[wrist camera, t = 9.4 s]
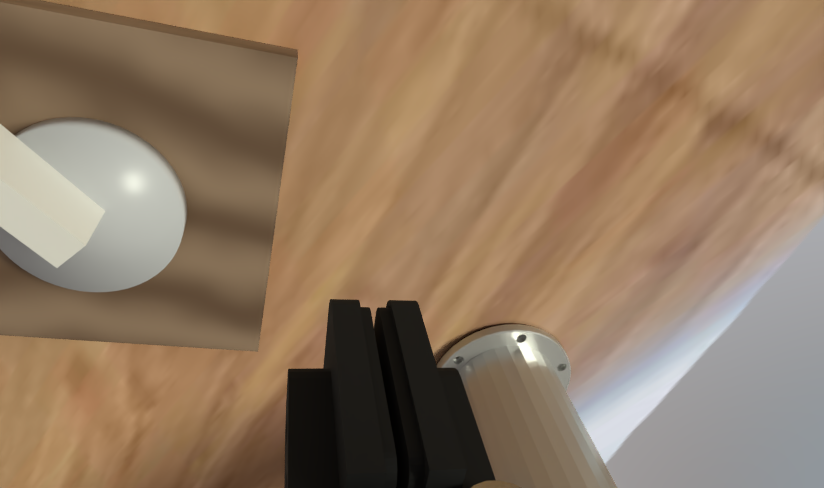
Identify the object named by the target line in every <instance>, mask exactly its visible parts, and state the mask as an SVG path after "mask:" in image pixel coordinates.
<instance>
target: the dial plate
mask: <svg viewBox="0 0 824 488" xmlns="http://www.w3.org/2000/svg"><path fill="white" fill-rule="evenodd" d="M297 59H298V52H297V50H296V49H291V48H286V47H281V46H275V45H270V44H265V43H260V42H254V41H249V40H244V39H239V38H234V37H228V36H223V35H218V34H213V33H207V32H202V31H197V30H192V29H187V28H181V27H176V26H171V25H166V24H161V23H155V22H150V21H145V20H140V19H134V18H129V17H124V16H119V15H114V14H108V13H103V12H98V11H93V10H87V9H82V8H77V7H72V6H67V5H61V4H56V3H51V2H46V1H40V0H0V124H1V125H2V126H4V127H5V128H6V129H7V130H8V131H10V132H11V133H12V134H13V135H16V134H17V133H19V132H20V131H21V130H23V129H25V128H27V127H29V126H31V125H33V124H36V123H39V122H42V121H45V120H50V119H55V118H65V117H81V118H90V119H96V120H101V121H104V122H108V123H112V124H114V125H117V126H119V127H122V128H124V129H127V130H128V131H130V132H132V133H134V134H136V135H138V136H139V137H141V138H142V139H144V140H145V141H147V142H148V143H150V144H151V145H152V146H153V147H154V148H155V149H157V150H158V151H159V152H160V153H161V154H162V155H163V156H164V157H165V158H166V160H167V161H168V162H169V163H170V165H171V166H172V167H173V169H174V170H175V172H176V174H177V176H178V177H179V179H180V181H181V184H182V186H183V189H184V192H185V197H186V201H187V221H186V225H185V230H184V233H183V236H182V239H181V243H180V245H179V247H178V250H177V252H176V254H175V255H174V257H173V258H172V260H171V261H170V262H169V264H168V265H167V266H166V267H165V268H164V269H163V270H162V271H161V272H159V273H158V274H157V275H156V276H154V277H152V278H151V279H149V280H148V281H146V282H144V283H141V284H139V285H137V286H134V287H131V288H128V289H123V290H119V291H111V292H85V291H77V290H72V289H67V288H63V287H60V286H57V285H54V284H51V283H49V282H46V281H44V280H41V279H39V278H38V277H36V276H34V275H32V274H30V273H28V272H27V271H25V270H24V269H22V268H21V267H19V266H18V265H17V264H16V263H14V262H13V261H12V260H11V259H10V258H9V257H8V256H6V255H5V254H4V253H3V252H2V251H1V249H0V335H8V336H24V337H39V338H55V339H70V340H86V341H101V342H117V343H132V344H148V345H164V346H179V347H195V348H210V349H226V350H241V351H257V352H258V347H259V340H260V332H261V325H262V318H263V310H264V303H265V295H266V288H267V281H268V273H269V266H270V258H271V251H272V244H273V236H274V229H275V222H276V214H277V207H278V199H279V192H280V185H281V177H282V170H283V162H284V155H285V148H286V140H287V133H288V126H289V118H290V111H291V103H292V96H293V89H294V81H295V74H296V67H297Z"/></svg>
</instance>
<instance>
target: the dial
mask: <svg viewBox="0 0 824 488" xmlns="http://www.w3.org/2000/svg"><path fill="white" fill-rule="evenodd" d="M186 221H187V201H186V197H185V192H184V189H183V186H182V184H181V181H180V179H179V177H178V176H177V174H176V172H175V170H174V169H173V167H172V166H171V165H170V163H169V162H168V161H167V160H166V158H165V157H164V156H163V155H162V154H161V153H160V152H159V151H158V150H157V149H155V148H154V147H153V146H152V145H151V144H150V143H148V142H147V141H145V140H144V139H142V138H141V137H139V136H138V135H136V134H134V133H132V132H130V131H128V130H127V129H124V128H122V127H119V126H117V125H114V124H112V123H108V122H104V121H101V120H96V119H90V118H81V117H65V118H55V119H50V120H45V121H42V122H39V123H36V124H33V125H31V126H29V127H27V128H25V129H23V130H21V131H20V132H19V133H17V134H16V135H13V134H12V133H11V132H10V131H8V130H7V129H6V128H5V127H4V126H2V125H1V124H0V249H1V251H2V252H3V253H4V254H5V255H6V256H8V257H9V258H10V259H11V260H12V261H13V262H14V263H16V264H17V265H18V266H19V267H21V268H22V269H24V270H25V271H27V272H28V273H30V274H32V275H34V276H36V277H38V278H39V279H41V280H44V281H46V282H49V283H51V284H54V285H57V286H60V287H63V288H67V289H72V290H77V291H85V292H111V291H119V290H123V289H128V288H131V287H134V286H137V285H139V284H141V283H144V282H146V281H148V280H149V279H151V278H152V277H154V276H156V275H157V274H158V273H159V272H161V271H162V270H163V269H164V268H165V267H166V266H167V265H168V264H169V262H170V261H171V260H172V258H173V257H174V255H175V254H176V252H177V250H178V247H179V245H180V243H181V239H182V236H183V233H184V230H185V225H186Z"/></svg>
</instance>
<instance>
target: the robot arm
mask: <svg viewBox="0 0 824 488" xmlns="http://www.w3.org/2000/svg"><path fill="white" fill-rule="evenodd" d="M570 374H571V368H570V362H569V359H568V357H567V354H566V352H565V351H564V349H563V347H562V346H561V344H560V343H559V341H557V340H556V339H555V338H554V337H553V336H552V335H551V334H549V333H547V332H546V331H544V330H542V329H539V328H536V327H533V326H529V325H521V324H507V325H499V326H494V327H489V328H486V329H484V330H481V331H478V332H475V333H473V334H472V335H470V336H468V337H466V338H464V339H462V340H461V341H460V342H458V343H457V344H455V345H454V346H453V347H452V348H451V349H450V350H449V351H448V352H447V353H446V354H445V355H444V356H443V357H442V358H441V360H440V361H439V362H438V364H437V365H436V362H435V359H434V356H433V352H432V349H431V345H430V342H429V339H428V335H427V332H426V328H425V325H424V322H423V318H422V315H421V312H420V308H419V305H418V303H417V301H396V300H389V301H388V302H387V306H386V308H377V311H376V317H375V325H374V327H373V321H372V316H371V310H370V308H368V307H360V302H359V300H337V299H331V300H330V303H329V312H328V323H327V335H326V346H325V357H324V368H323V369H288V381H287V401H286V429H285V488H617V486H616V484H615V482H614V481H613V479H612V477H611V475H610V473H609V471H608V469H607V468H606V466H605V464H604V462H603V460H602V458H601V456H600V454H599V452H598V451H597V449H596V447H595V445H594V443H593V441H592V439H591V437H590V436H589V434H588V432H587V430H586V428H585V426H584V424H583V422H582V421H581V419H580V417H579V415H578V413H577V411H576V409H575V407H574V406H573V404H572V402H571V400H570V398H569V396H568V394H567V392H566V390H567V387H568V384H569V381H570Z"/></svg>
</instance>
